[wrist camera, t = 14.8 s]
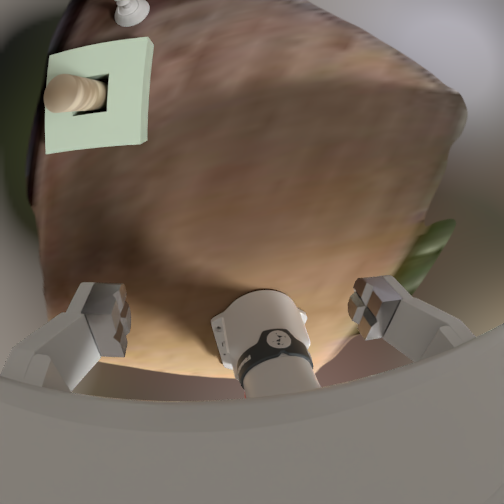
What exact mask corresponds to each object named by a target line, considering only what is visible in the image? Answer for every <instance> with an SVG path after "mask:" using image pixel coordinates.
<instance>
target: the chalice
mask: <svg viewBox="0 0 504 504" xmlns="http://www.w3.org/2000/svg"><path fill="white" fill-rule="evenodd" d="M115 1H117V5H118V7H117V9H116V12H115V21H116V22H117V24H118V25H121V26H125V27H129V26H133V25H136V24H138V23H140V22H141V21H142V20H144V18H145V17H146V16H147V14H148V12H149V4H148V3H147V2H146V1H145V0H115Z"/></svg>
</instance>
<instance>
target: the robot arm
mask: <svg viewBox="0 0 504 504" xmlns="http://www.w3.org/2000/svg"><path fill="white" fill-rule="evenodd" d="M353 288H354V291H355V292H354V293H353V294H352V295H351V296H350V299H349V302H348V313H349V316H350V318H351V319H352V321H354V322H356V323H357V324H358V328H357V329H358V330H359V332H360V333H361V335H362V336H363V338H364V339H365V340H371V339H377V338H382V337H383V339H384V340H386V341H387V342H388V343H390V344H391V345H392V346H394V347H395V348H397V349H398V350H399V351H401V352H402V353H403V354H405V355H406V356H407V357H408V358H410V359H411V360H413V361H414V363H411V364H409V365H405V366H402V367H399V368H396V369H393V370H389V371H386V372H383V373H379V374H376V375H372V376H369V377H365V378H361V379H357V380H353V381H349V382H344V383H340V384H336V385H331V386H326V387H321V386H320V385H319V383H318V381H317V378H316V376H315V374H314V372H313V363H312V358H311V355H310V353H309V352H308V350H307V349H308V347H309V345H310V339H309V336H308V333H307V330H306V328H305V325H304V324H305V322H306V320H307V315H306V313H305V312H304V311H302V310H300V309H298V308H297V307H296V305H295V304H294V302H293V301H292V299H291V298H290V297H288V296H287V295H285V294H283V293H281V292H278V291H273V290H260V291H255V292H251V293H248V294H246V295H243V296H241V297H240V298H238V299H237V300H235V301H234V302H233V303H232V304H231V305H230V306H229V307H228V308H227V309H226V310H225V311H224V312H223V313H220V314H218V315H217V316H215V317H213V318H212V319H211V325H212V329H213V332H214V336H215V339H216V343H217V346H218V349H219V353H220V356H221V359H222V363H223V366H224V367H225V368H228V369H232V370H233V371H234V375H235V378H236V379H238V380H239V382H240V383H241V386H242V388H243V389H244V391H245V398H244V399H231V400H216V401H145V400H129V399H117V398H107V397H98V396H90V395H83V394H76V393H72V392H71V391H72V390H73V389H74V388H75V387H76V385H77V384H78V383H79V382H80V381H81V379H83V377H84V376H85V375H86V374H87V373H88V372H89V370H90V369H91V368H92V367H93V366H94V365H95V364H96V363H97V361H98V360H99V359H100V358H101V356H106V357H125V353H126V348H127V343H128V342H127V338H126V335H127V334H128V333H129V332H130V327H131V312H130V307H129V304H128V303H127V302H126V301H125V299H126V296H127V293H126V288H125V285H124V284H123V283H98V282H96V283H95V282H83V283H81V284H80V285H79V287H78V289H77V291H76V293H75V295H74V297H73V299H72V301H71V303H70V305H69V307H68V309H67V311H66V313H64V312H62V313H60V314H59V315H57V316H56V317H54V318H53V319H52V320H50V321H49V322H47V323H46V324H44V325H43V326H42V327H41V328H39V329H37V330H36V331H35V332H33V333H32V334H30V335H29V336H28V337H26V338H25V339H24V340H22V341H21V342H20V343H18V344H17V345H15V346H14V347H13V348H12V350H11V352H10V354H9V356H8V358H7V361H6V363H5V365H4V367H3V370H2V372H1V374H0V504H504V323H503V324H501V325H499V326H498V327H496V328H494V329H492V330H490V331H488V332H486V333H484V334H482V335H480V336H478V337H475V336H474V334H472V332H471V331H470V330H469V329H468V328H467V327H466V326H465V324H464V323H463V322H462V321H461V320H460V319H458V318H456V317H454V316H451V315H450V314H448V313H446V312H444V311H442V310H440V309H438V308H436V307H434V306H432V305H430V304H428V303H426V302H424V301H421V300H419V299H417V298H413V297H412V296H411V295H410V294H409V293H408V292H407V291H406V290H405V289H404V288H403V287H402V286H401V285H400V283H399V282H398V281H397V280H396V279H395V278H394V277H393V276H390V275H385V276H378V277H366V278H358V279H357V280H356V281H355V284H354V287H353Z"/></svg>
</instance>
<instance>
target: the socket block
mask: <svg viewBox="0 0 504 504" xmlns="http://www.w3.org/2000/svg"><path fill="white" fill-rule="evenodd" d="M153 48H154V44H153V43H152V42H151V40H150V39H149V37H141V38H132V39H124V40H117V41H110V42H104V43H99V44H94V45H89V46H84V47H80V48H76V49H72V50H68V51H64V52H60V53H57V54H53V55H50V56H49V64H48V73H47V84H46V87H47V85H48V83H49V82H50V81H51V80H52V79H53V78H54V77H56V76H57V75H60V74H70V75H75V76H79V77H84V78H88V79H93V80H102V79H109V81H108V95H107V112H99V113H91V114H85V111H73V112H61V113H53V112H50V111H49V110H48V109H47V108H46V106H45V147H46V154H51V153H57V152H64V151H71V150H79V149H87V148H97V147H107V146H120V145H135V144H142V143H143V142H145V141H147V124H148V102H149V88H150V76H151V65H152V56H153Z"/></svg>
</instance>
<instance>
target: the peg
mask: <svg viewBox="0 0 504 504" xmlns="http://www.w3.org/2000/svg"><path fill="white" fill-rule="evenodd" d="M107 95H108V83H105V82H101V81H97V80H93V79H88V78H84V77H79V76H75V75H70V74H60V75H57V76H56V77H54V78H53V79H52V80H51V81H50V82H49V83H48V85H47V87H46V89H45V92H44V104H45V106H46V108H47V109H48V110H49V111H50V112H53V113H61V112H73V111H88V110H103V109H106V108H107Z"/></svg>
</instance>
